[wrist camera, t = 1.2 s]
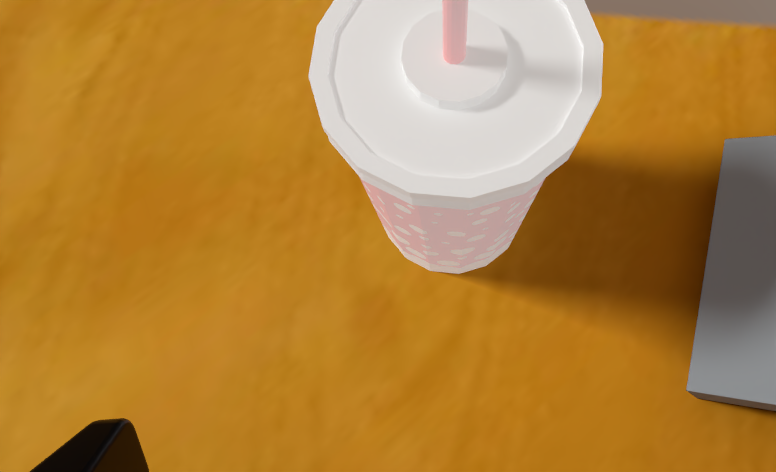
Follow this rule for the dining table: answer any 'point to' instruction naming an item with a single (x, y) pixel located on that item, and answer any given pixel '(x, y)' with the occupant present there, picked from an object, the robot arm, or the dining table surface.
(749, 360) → the ramp
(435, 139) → the beverage cup
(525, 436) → the dining table surface
